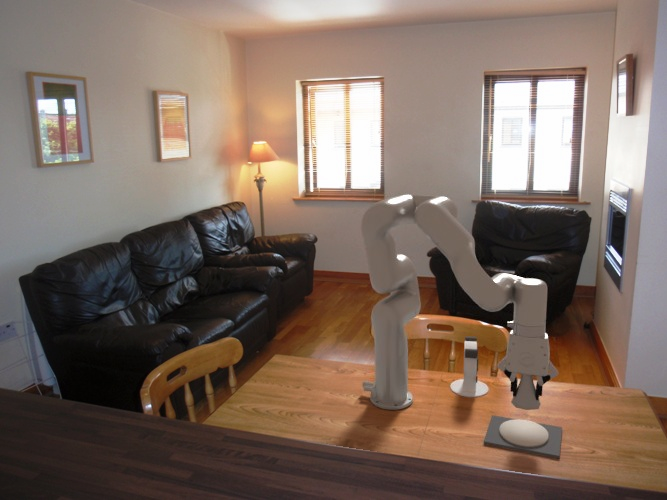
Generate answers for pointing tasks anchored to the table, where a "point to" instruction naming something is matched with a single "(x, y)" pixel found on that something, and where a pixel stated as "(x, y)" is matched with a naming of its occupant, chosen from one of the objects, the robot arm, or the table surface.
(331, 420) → the table surface
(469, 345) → the white upright piece
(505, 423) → the saucer mat
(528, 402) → the flask
